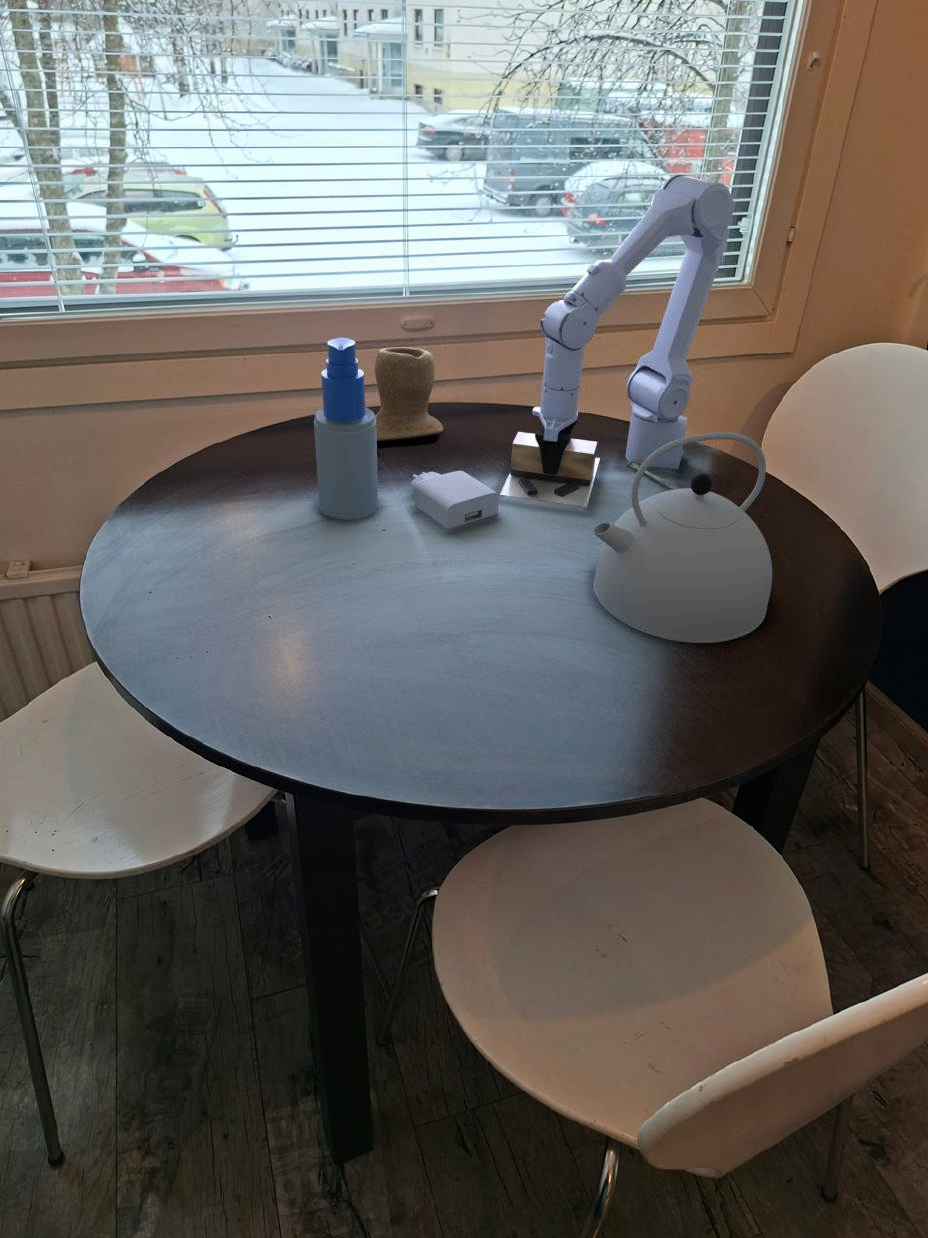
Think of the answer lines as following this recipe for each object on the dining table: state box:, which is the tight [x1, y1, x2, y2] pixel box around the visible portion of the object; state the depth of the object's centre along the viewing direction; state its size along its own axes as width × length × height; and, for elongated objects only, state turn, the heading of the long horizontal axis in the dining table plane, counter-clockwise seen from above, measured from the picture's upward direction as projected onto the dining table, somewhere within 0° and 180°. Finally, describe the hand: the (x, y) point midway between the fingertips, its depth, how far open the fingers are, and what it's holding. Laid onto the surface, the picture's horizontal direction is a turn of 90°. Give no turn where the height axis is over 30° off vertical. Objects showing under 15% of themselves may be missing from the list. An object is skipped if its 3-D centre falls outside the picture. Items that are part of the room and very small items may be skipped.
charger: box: [409, 470, 500, 530], centre depth 133 cm, size 5×9×15 cm
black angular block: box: [554, 481, 580, 497], centre depth 138 cm, size 4×2×1 cm, turn 136°
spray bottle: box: [313, 337, 379, 520], centre depth 126 cm, size 9×9×25 cm
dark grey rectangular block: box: [518, 478, 537, 495], centre depth 138 cm, size 4×2×1 cm, turn 16°
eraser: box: [509, 431, 598, 486], centre depth 141 cm, size 13×5×6 cm, turn 76°
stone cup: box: [374, 346, 444, 442], centre depth 153 cm, size 15×12×15 cm
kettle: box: [592, 431, 773, 644], centre depth 110 cm, size 25×23×22 cm
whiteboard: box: [499, 457, 601, 508], centre depth 143 cm, size 15×20×1 cm
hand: (552, 466), depth 141 cm, fingers closed on eraser, 5 cm apart
